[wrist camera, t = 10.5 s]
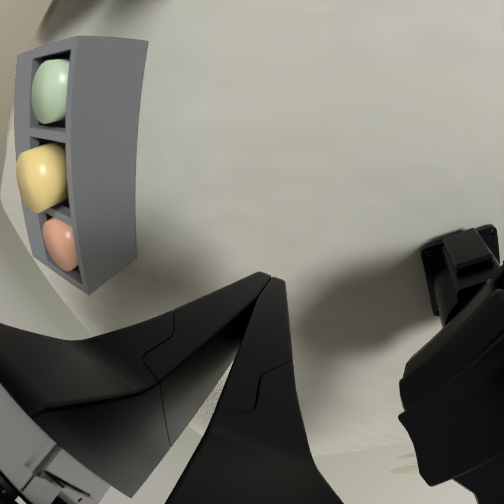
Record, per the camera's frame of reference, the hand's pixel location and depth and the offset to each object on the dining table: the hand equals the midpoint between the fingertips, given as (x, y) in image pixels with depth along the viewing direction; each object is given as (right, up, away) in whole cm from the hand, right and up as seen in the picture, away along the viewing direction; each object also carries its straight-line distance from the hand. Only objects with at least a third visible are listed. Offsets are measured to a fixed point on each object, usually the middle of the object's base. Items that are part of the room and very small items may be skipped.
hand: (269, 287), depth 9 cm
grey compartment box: (-16, +11, +17) cm, 26 cm away
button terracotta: (-17, +3, +16) cm, 24 cm away
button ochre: (-17, +8, +11) cm, 22 cm away
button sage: (-15, +14, +9) cm, 23 cm away
